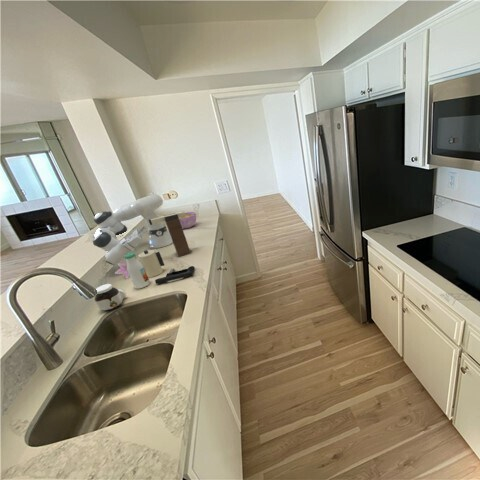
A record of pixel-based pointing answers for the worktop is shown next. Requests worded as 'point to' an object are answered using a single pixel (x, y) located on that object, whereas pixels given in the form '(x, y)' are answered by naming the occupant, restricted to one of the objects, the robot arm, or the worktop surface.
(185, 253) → the stand
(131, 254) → the milk bottle
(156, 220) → the switch bar
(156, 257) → the kettle
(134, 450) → the worktop surface
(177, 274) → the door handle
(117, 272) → the lily
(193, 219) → the bowl of food
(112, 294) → the spread jar
